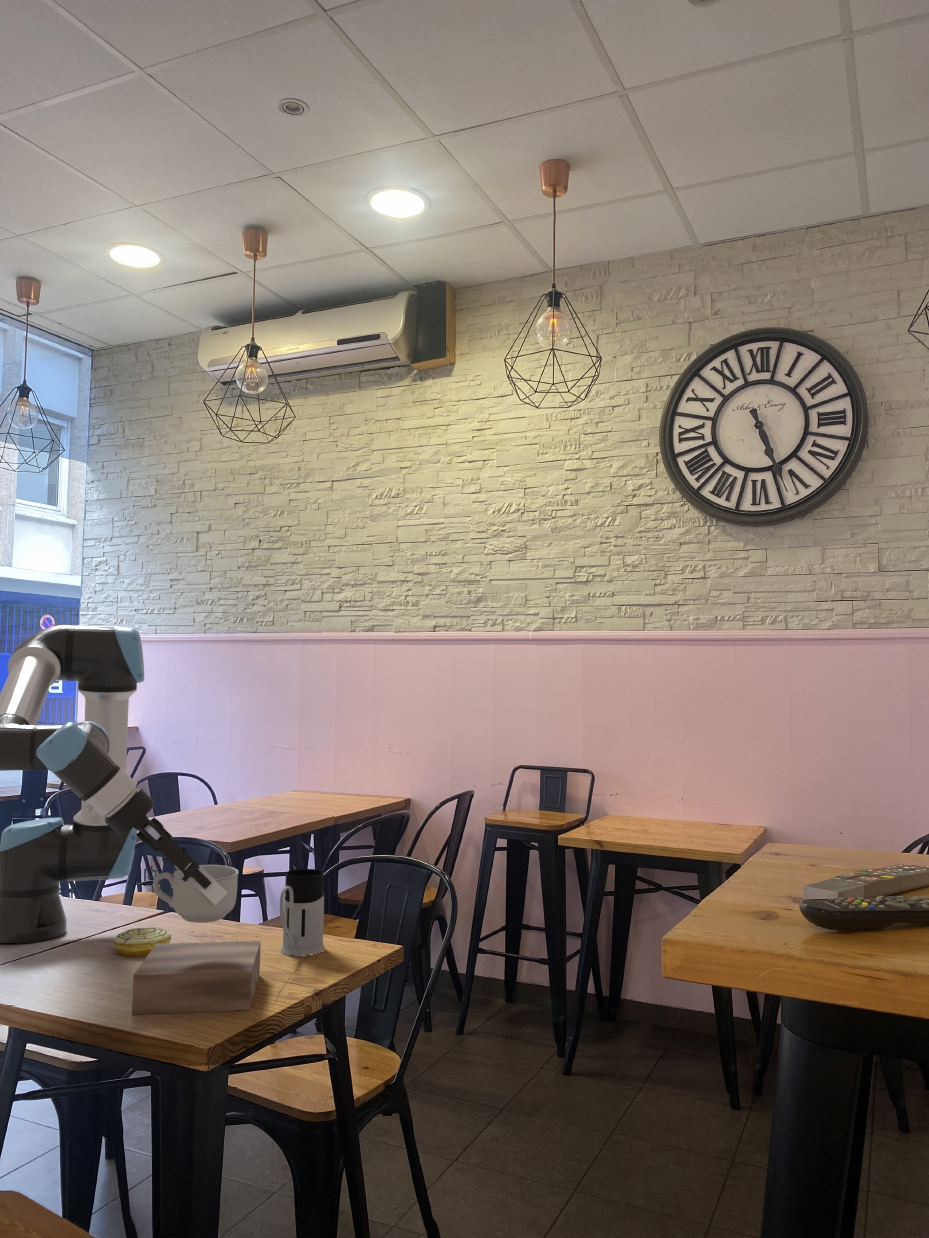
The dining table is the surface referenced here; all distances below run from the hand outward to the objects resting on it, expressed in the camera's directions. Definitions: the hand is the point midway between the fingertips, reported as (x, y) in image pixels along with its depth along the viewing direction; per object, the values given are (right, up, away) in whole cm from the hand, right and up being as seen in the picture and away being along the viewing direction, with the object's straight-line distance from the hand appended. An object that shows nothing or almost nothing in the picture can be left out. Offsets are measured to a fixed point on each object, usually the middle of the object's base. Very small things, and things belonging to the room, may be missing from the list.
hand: (213, 891), depth 149 cm
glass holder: (+10, -19, +21) cm, 30 cm away
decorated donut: (-21, -19, +23) cm, 36 cm away
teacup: (-3, -4, -1) cm, 5 cm away
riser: (-2, -16, -2) cm, 16 cm away
